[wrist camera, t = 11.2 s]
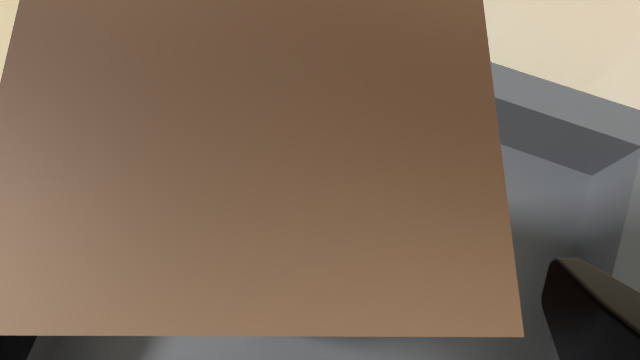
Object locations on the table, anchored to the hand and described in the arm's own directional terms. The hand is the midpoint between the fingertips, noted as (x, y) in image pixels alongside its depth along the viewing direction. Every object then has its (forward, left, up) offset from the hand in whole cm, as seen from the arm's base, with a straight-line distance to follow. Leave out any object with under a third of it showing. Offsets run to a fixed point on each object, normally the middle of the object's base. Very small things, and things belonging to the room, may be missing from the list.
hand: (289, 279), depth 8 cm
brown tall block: (+1, +1, -8) cm, 9 cm away
